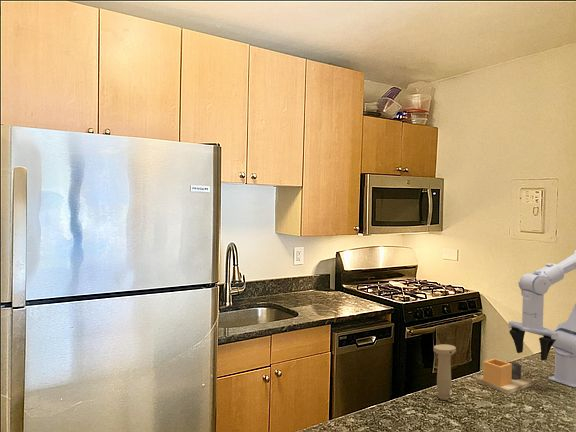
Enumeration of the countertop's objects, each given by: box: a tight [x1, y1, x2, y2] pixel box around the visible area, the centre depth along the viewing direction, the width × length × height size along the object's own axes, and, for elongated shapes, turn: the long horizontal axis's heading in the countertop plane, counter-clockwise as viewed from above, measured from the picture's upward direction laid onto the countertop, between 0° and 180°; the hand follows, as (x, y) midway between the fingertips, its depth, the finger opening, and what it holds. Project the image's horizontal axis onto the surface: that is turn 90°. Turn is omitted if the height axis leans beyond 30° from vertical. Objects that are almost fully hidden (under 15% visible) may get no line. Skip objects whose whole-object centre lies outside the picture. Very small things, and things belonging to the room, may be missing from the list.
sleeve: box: [482, 357, 512, 387], centre depth 140 cm, size 6×6×6 cm
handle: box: [433, 343, 457, 401], centre depth 130 cm, size 5×6×15 cm
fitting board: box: [474, 361, 535, 395], centre depth 142 cm, size 14×11×5 cm
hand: (531, 356), depth 140 cm, fingers open, 7 cm apart
